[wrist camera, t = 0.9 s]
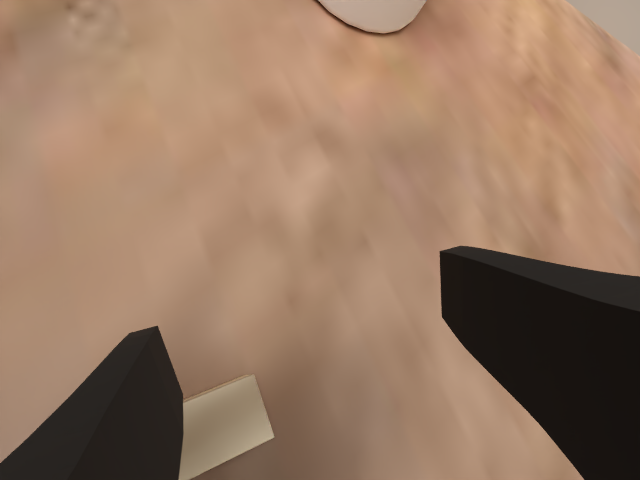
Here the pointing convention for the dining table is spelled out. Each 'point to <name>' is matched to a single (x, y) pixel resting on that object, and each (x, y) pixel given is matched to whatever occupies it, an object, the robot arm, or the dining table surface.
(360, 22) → the white lidded jar
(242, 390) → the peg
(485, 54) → the dining table surface
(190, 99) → the dining table surface
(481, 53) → the dining table surface
